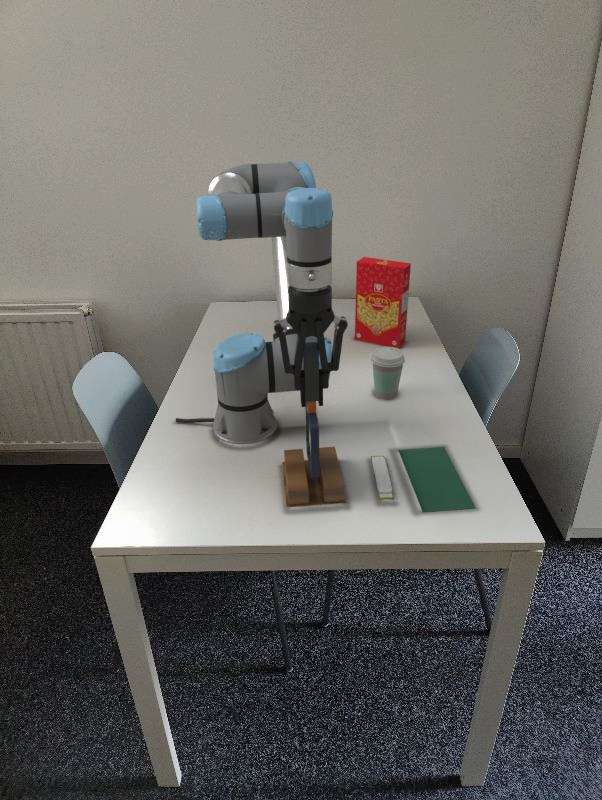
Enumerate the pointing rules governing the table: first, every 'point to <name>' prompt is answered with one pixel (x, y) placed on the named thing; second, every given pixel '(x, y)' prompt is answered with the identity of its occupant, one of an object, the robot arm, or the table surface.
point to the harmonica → (382, 477)
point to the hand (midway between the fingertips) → (311, 402)
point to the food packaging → (381, 301)
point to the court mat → (435, 480)
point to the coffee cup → (387, 371)
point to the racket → (312, 405)
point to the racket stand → (312, 490)
